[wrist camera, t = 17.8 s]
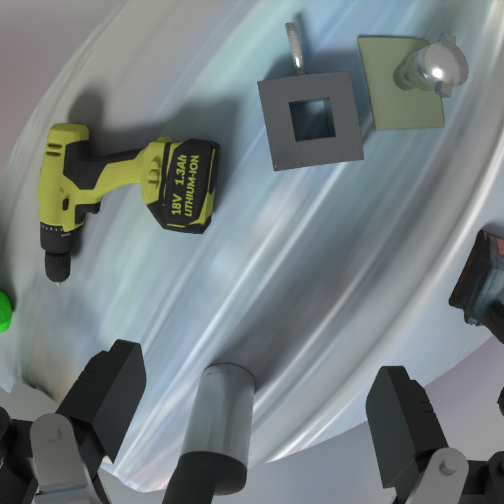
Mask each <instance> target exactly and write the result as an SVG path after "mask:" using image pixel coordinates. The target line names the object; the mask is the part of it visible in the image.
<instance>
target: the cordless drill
mask: <svg viewBox="0 0 504 504" xmlns="http://www.w3.org/2000/svg"><path fill="white" fill-rule="evenodd" d="M47 138H48V139H47V144H46V148H45V153H44V158H43V163H42V167H41V169H40V173H39V185H38V200H39V219H40V241H41V247H42V248H43V249H44V250H46V251H45V270H46V275H47V277H48V278H49V279H50V280H51V281H53V282H56V284H57V286H58V287H60V285H61V282H63V281H65V280H66V279H67V278H68V277H69V275H70V266H71V258H70V251H69V250H71V249H72V248H74V246H75V231H76V228H77V227H79V226H81V225H82V224H83V223H84V218H85V213H86V211H88V212H91V213H93V214H97V213H98V212H99V211H100V205H101V200H102V197H103V195H104V194H106V193H107V192H110V191H112V190H114V189H116V188H119V187H121V186H124V185H126V184H130V183H141V184H142V197H143V199H144V201H145V203H146V205H147V207H148V208H149V210H150V211H151V213H152V214H153V216H154V217H155V219H156V220H157V221H158V223H159V224H160V225H161V227H162V228H163V229H167V230H172V231H177V232H183V233H193V234H203V233H204V231H205V230H206V229H207V227H208V226H209V224H210V223H211V216H212V208H213V201H214V193H215V186H216V179H217V172H218V166H219V159H220V152H221V149H220V146H219V144H218V143H217V142H213V141H208V140H200V139H189V140H187V141H185V142H184V143H182V142H173V140H172V138H171V137H159V138H158V139H157V141H152V142H151V143H149V145H148V146H147V147H146V148H144V149H137V150H130V151H125V152H120V153H115V154H111V155H107V156H102V157H92V156H90V155H89V152H88V150H89V130H88V128H87V127H86V125H80V124H67V123H56V124H54V125H53V126H52V127H51V128H50V131H49V134H48V137H47ZM75 206H76V207H75Z"/></svg>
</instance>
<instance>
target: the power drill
mask: <svg viewBox="0 0 504 504" xmlns="http://www.w3.org/2000/svg"><path fill="white" fill-rule="evenodd" d="M449 305H450V306H453V307H456V308H459V309H463V311H464V319H465V322H466V323H467V324H471V325H472V324H475V325H476V326H484V325H485V326H486V327H487V328H488V329H489V330H490V331H491V332H492V334H494V335H495V336H496V337H497V339H498V340H499V341H500V342H501V343H503V344H504V240H503V239H501V238H499V237H496V236H494V235H492V234H490V233H488V232H486V231H483V230H480V232H479V233H478V234H477V238H476V241H475V245H474V247H473V249H472V251H471V253H470V256H469V258H468V260H467V262H466V265H465V267H464V269H463V271H462V274H461V276H460V278H459V280H458V282H457V284H456V286H455V288H454V291H453V293H452V295H451V297H450V299H449ZM497 403H498V404H499V408H500V411H501V413H502V415H503V416H504V387H503V389H502V391H501V393H500V396H499V399H498V401H497Z"/></svg>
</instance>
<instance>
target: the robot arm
mask: <svg viewBox="0 0 504 504" xmlns="http://www.w3.org/2000/svg"><path fill="white" fill-rule="evenodd" d="M145 387H146V371H145V366H144V361H143V355H142V349H141V345H140V344H139V343H136V342H131V341H126V340H121V339H118V340H116V341H115V343H114V344H113V346H112V347H111V349H110V350H109V352H107V351H101V352H100V353H98V354H97V355H95V356H94V357H93V358H91V359H90V361H89V362H88V364H87V365H86V367H85V368H84V371H82V373H81V374H80V376H79V377H78V380H76V382H75V383H74V385H73V386H72V388H71V389H70V391H69V392H68V394H67V395H66V397H65V398H64V400H63V401H62V403H61V405H60V406H59V408H58V409H57V411H56V412H55V413H49V414H44V415H42V416H40V417H39V418H37V419H36V420H35V421H34V422H32V421H24V420H17V419H11V418H10V416H9V415H8V413H7V412H6V410H5V409H4V408H2V407H0V466H1V464H2V462H3V464H2V466H1V468H0V504H31V503H32V500H33V497H34V495H35V497H34V501H35V504H112V503H111V500H110V498H109V495H108V493H107V490H106V488H105V485H104V483H103V480H102V477H101V475H100V472H99V470H98V469H99V467H100V465H101V462H102V461H104V462H107V463H110V464H113V463H114V461H115V459H116V456H117V454H118V451H119V449H120V447H121V444H122V442H123V439H124V437H125V435H126V432H127V430H128V428H129V425H130V423H131V421H132V418H133V416H134V414H135V411H136V409H137V407H138V404H139V402H140V400H141V398H142V395H143V393H144V390H145ZM254 389H255V382H254V379H253V377H252V375H251V374H250V373H249V372H248V371H246V370H245V369H243V368H241V367H239V366H236V365H232V364H216V365H213V366H210V367H209V368H207V369H206V370H205V371H204V372H203V374H202V376H201V380H200V383H199V387H198V391H197V394H196V397H195V401H194V405H193V408H192V412H191V416H190V419H189V423H188V427H187V430H186V434H185V438H184V442H183V446H182V449H181V453H180V457H179V461H178V464H177V467H176V469H175V471H174V473H173V475H172V477H171V479H170V481H169V484H168V487H167V490H166V493H165V496H164V499H163V502H162V504H211V502H212V499H213V495H229V494H233V493H237V492H239V491H240V490H242V489H243V488H244V486H245V484H246V477H247V468H248V457H249V445H250V434H251V423H252V412H253V402H254ZM429 402H430V400H429V398H428V396H427V394H426V392H425V389H424V388H423V387H422V386H421V385H420V384H419V383H418V382H417V381H416V380H410V378H409V376H408V373H407V371H406V369H405V367H404V366H382V367H381V368H380V369H379V371H378V374H377V376H376V378H375V381H374V383H373V385H372V387H371V389H370V392H369V394H368V396H367V400H366V414H367V418H368V422H369V426H370V430H371V435H372V439H373V443H374V447H375V452H376V457H377V461H378V466H379V470H380V475H381V480H382V485H383V488H391V487H395V489H396V494H395V495H394V496H393V497H392V499H391V501H390V503H389V504H504V451H500V452H497V453H495V454H494V455H493V456H492V457H491V458H490V459H489V460H488V461H474V460H467V459H466V457H465V456H464V455H463V454H462V453H461V452H460V451H459V450H457V449H454V448H449V446H448V444H447V441H446V439H445V436H444V434H443V431H442V429H441V426H440V424H439V421H438V419H437V417H436V414H435V413H434V412H433V411H434V410H433V407H432V405H431V403H429ZM38 485H39V493H37V494H35V493H36V490H37V488H38Z"/></svg>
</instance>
